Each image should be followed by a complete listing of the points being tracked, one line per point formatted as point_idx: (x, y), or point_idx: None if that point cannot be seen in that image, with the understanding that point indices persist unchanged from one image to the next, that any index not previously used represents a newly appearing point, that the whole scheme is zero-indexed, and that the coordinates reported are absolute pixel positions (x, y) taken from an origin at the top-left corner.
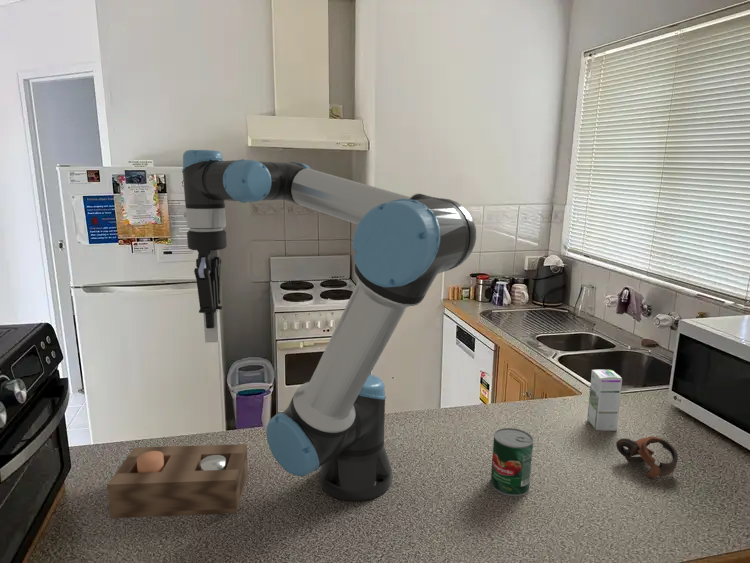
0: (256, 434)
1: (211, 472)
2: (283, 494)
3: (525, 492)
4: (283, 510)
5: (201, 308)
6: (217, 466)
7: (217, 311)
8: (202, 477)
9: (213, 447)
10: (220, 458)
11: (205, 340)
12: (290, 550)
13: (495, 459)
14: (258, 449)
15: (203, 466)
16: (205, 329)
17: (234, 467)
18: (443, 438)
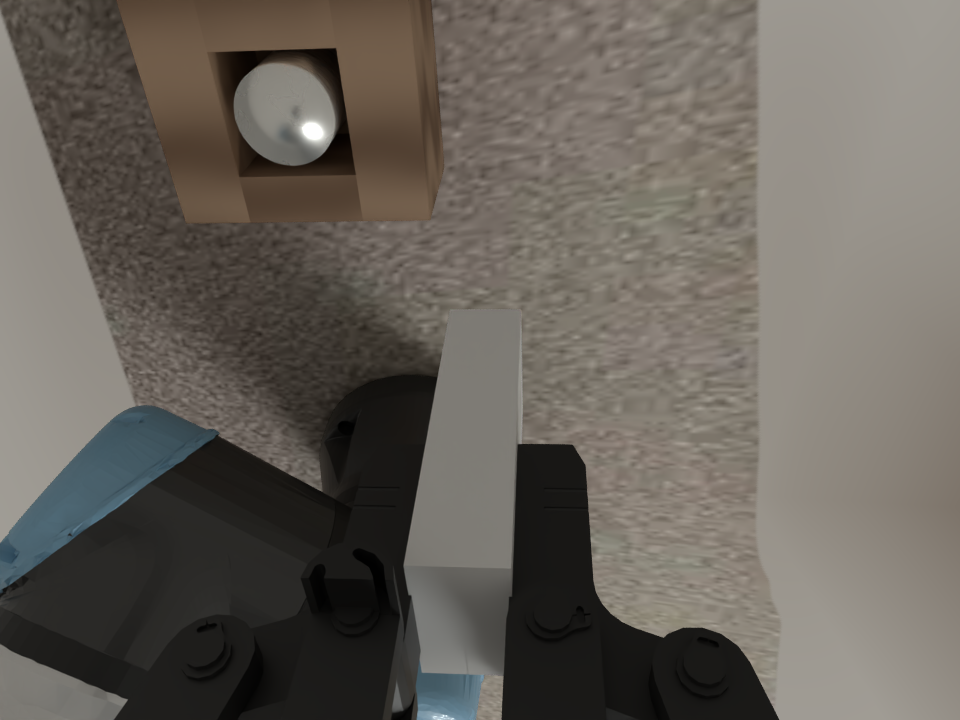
0: (744, 149)
1: (212, 128)
2: (339, 287)
3: None
4: (267, 293)
5: (153, 686)
6: (251, 143)
7: (462, 673)
8: (172, 102)
9: (397, 87)
10: (309, 141)
11: (450, 323)
12: (125, 320)
13: None
14: (615, 176)
15: (240, 87)
16: (435, 404)
17: (259, 205)
18: None
